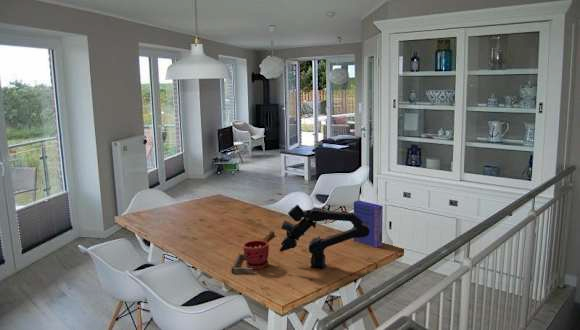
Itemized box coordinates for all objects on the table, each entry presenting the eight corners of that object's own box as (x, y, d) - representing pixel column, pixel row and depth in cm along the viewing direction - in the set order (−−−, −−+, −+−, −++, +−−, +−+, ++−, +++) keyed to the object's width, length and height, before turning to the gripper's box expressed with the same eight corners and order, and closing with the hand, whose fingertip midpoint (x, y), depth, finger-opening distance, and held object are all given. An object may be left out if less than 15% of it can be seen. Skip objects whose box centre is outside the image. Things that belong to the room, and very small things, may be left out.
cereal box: (382, 245, 269) (382, 205, 264) (376, 247, 265) (377, 207, 261) (358, 238, 281) (359, 200, 277) (353, 240, 278) (353, 201, 274)
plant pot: (272, 261, 247) (271, 240, 245) (265, 271, 235) (264, 248, 233) (248, 260, 250) (247, 238, 248) (240, 269, 238) (239, 247, 236)
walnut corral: (258, 258, 253) (258, 254, 252) (252, 273, 233) (252, 268, 232) (239, 258, 253) (238, 253, 253) (231, 273, 233) (231, 268, 233)
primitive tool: (263, 246, 272) (263, 240, 272) (255, 245, 274) (254, 240, 273) (275, 236, 290) (275, 230, 290) (267, 235, 292) (266, 230, 291)
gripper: (292, 211, 246) (271, 231, 248) (289, 221, 227) (267, 243, 230) (307, 225, 246) (286, 245, 249) (305, 237, 228) (283, 258, 231)
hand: (280, 247), depth 240 cm, fingers open, 9 cm apart
